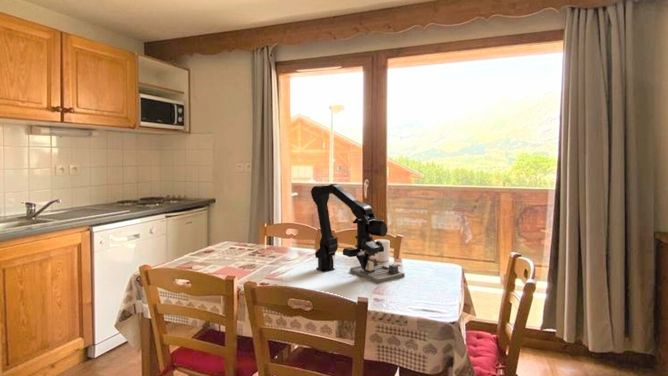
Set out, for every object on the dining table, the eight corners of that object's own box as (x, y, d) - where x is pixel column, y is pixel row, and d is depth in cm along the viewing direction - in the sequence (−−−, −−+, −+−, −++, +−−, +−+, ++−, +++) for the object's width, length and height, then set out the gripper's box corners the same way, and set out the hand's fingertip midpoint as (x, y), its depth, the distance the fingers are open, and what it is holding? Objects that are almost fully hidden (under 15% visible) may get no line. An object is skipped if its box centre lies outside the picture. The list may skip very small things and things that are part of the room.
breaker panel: (378, 283, 168) (378, 271, 167) (349, 271, 185) (349, 260, 184) (404, 277, 176) (404, 265, 176) (375, 266, 193) (375, 256, 193)
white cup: (389, 262, 201) (389, 242, 200) (373, 261, 202) (373, 242, 202) (390, 258, 209) (390, 239, 208) (375, 257, 210) (375, 238, 209)
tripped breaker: (369, 273, 175) (369, 262, 175) (363, 271, 179) (363, 261, 178) (374, 272, 177) (374, 261, 177) (369, 270, 180) (369, 260, 180)
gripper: (357, 239, 163) (357, 277, 164) (392, 234, 173) (392, 270, 174) (341, 235, 172) (342, 271, 174) (375, 230, 182) (375, 264, 184)
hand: (363, 269), depth 176 cm, fingers closed
